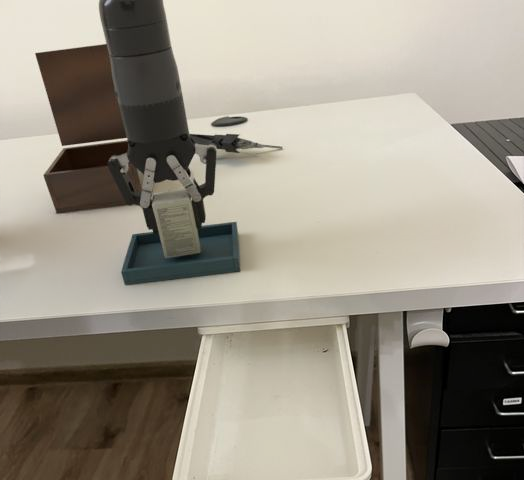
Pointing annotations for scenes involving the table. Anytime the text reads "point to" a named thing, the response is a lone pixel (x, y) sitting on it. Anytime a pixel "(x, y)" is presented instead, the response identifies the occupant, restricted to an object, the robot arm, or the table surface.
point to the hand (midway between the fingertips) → (177, 227)
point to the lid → (82, 94)
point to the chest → (88, 177)
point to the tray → (204, 263)
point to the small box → (176, 223)
